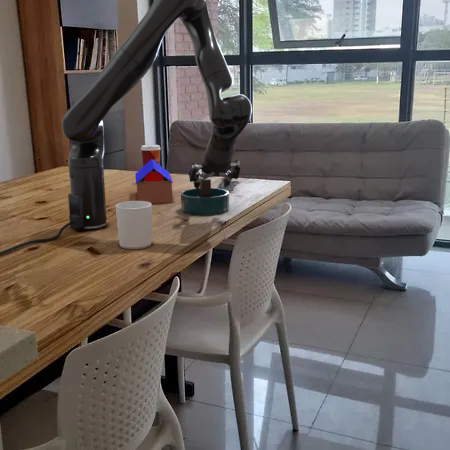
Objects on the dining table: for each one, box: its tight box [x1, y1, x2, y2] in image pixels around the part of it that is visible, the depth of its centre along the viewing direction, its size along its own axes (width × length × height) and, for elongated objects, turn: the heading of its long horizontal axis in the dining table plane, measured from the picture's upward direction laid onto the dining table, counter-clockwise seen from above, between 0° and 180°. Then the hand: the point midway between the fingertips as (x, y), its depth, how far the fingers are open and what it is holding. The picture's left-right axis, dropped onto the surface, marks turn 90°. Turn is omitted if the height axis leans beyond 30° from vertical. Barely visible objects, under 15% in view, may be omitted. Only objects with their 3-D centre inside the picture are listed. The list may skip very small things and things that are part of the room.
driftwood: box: [217, 177, 239, 191], centre depth 218 cm, size 21×7×2 cm, turn 173°
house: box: [134, 159, 174, 204], centre depth 202 cm, size 12×20×12 cm, turn 9°
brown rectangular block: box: [199, 177, 212, 197], centre depth 183 cm, size 3×3×9 cm
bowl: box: [180, 187, 230, 216], centre depth 184 cm, size 15×15×6 cm
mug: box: [115, 200, 153, 250], centre depth 149 cm, size 11×9×10 cm
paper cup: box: [140, 144, 162, 167], centre depth 229 cm, size 8×8×14 cm
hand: (210, 185), depth 174 cm, fingers open, 8 cm apart
